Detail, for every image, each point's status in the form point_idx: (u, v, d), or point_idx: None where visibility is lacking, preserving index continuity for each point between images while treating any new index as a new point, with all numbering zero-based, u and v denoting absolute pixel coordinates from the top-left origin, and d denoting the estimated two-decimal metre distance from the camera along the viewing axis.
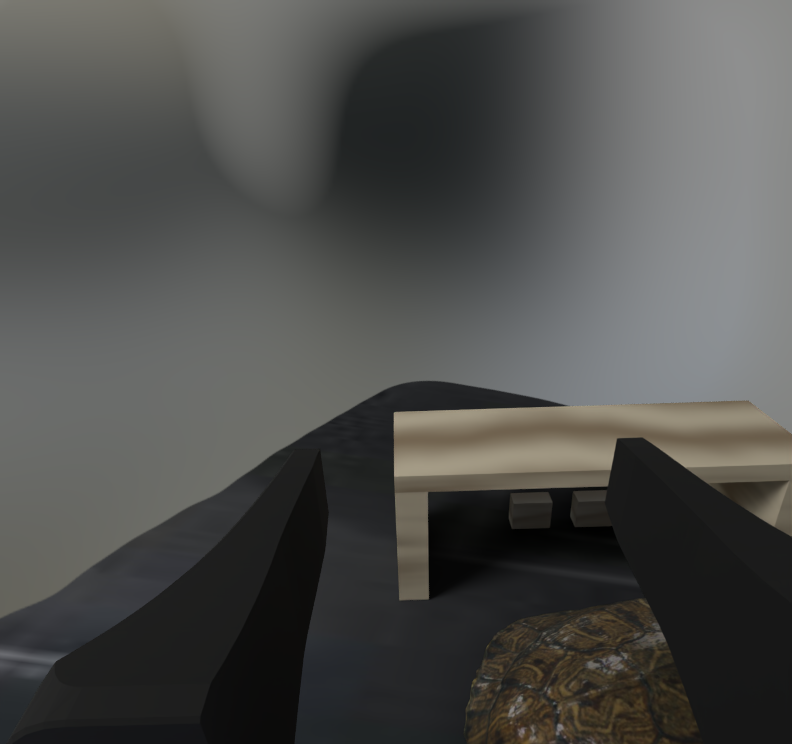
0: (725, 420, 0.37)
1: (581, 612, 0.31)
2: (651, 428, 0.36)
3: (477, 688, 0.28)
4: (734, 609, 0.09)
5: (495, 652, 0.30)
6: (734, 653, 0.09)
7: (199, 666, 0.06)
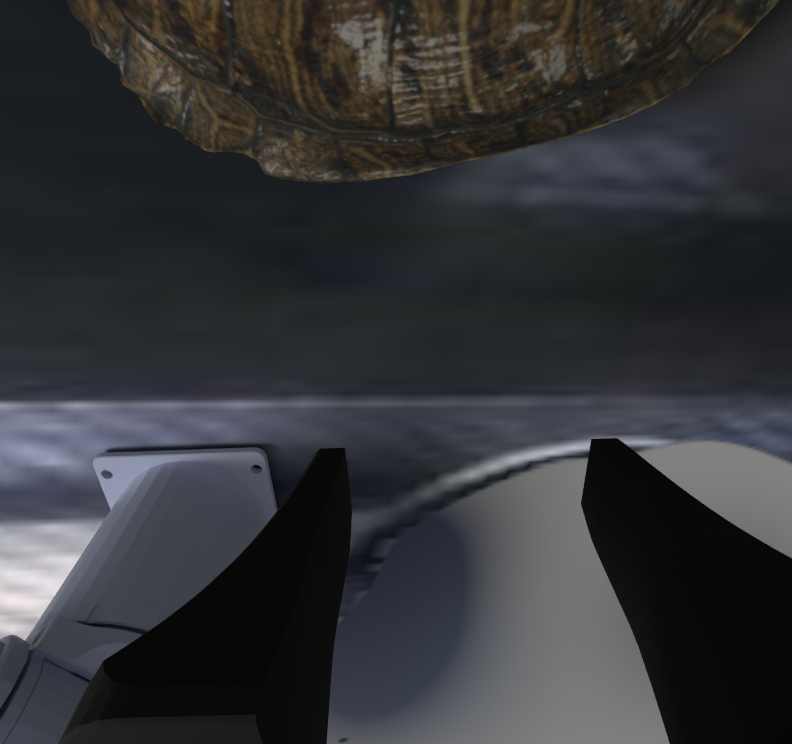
0: None
1: None
2: None
3: None
4: (696, 610, 0.09)
5: None
6: (696, 654, 0.09)
7: (249, 665, 0.06)
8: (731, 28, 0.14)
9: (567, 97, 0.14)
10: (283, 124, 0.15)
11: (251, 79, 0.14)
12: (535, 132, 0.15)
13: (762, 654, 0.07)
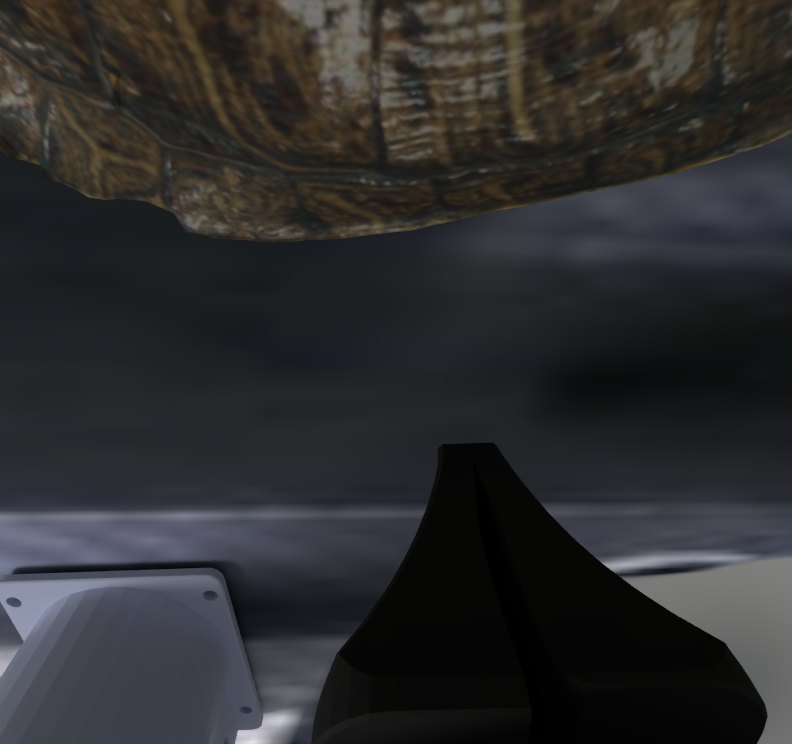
0: None
1: None
2: None
3: None
4: (513, 615, 0.09)
5: None
6: None
7: (494, 658, 0.06)
8: None
9: (681, 114, 0.08)
10: (205, 158, 0.09)
11: (138, 85, 0.08)
12: (613, 169, 0.10)
13: (537, 660, 0.07)
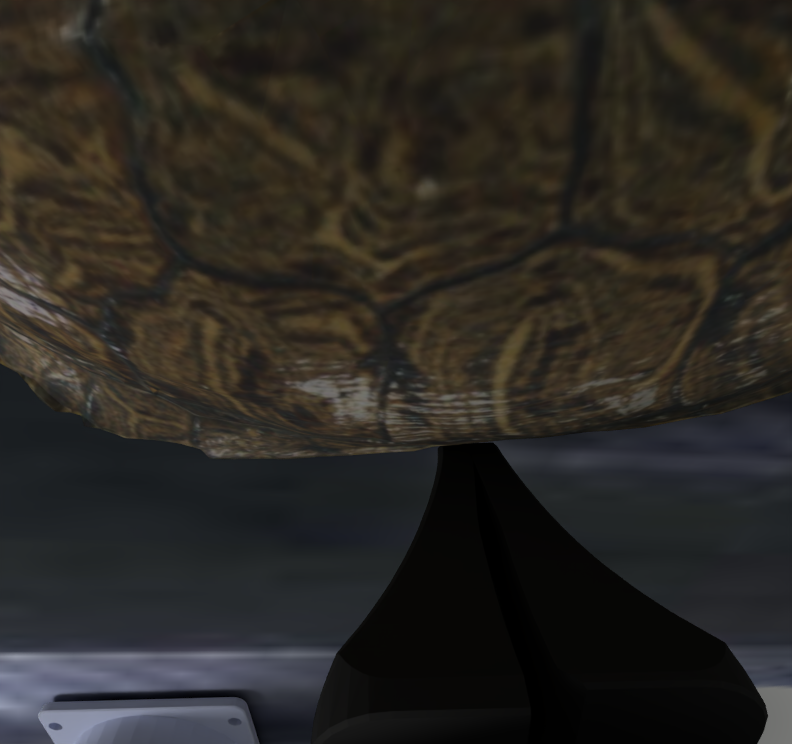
0: None
1: None
2: None
3: None
4: (514, 615, 0.09)
5: None
6: None
7: (494, 658, 0.06)
8: None
9: (648, 415, 0.10)
10: (230, 424, 0.11)
11: (174, 394, 0.09)
12: (592, 431, 0.11)
13: (538, 660, 0.07)
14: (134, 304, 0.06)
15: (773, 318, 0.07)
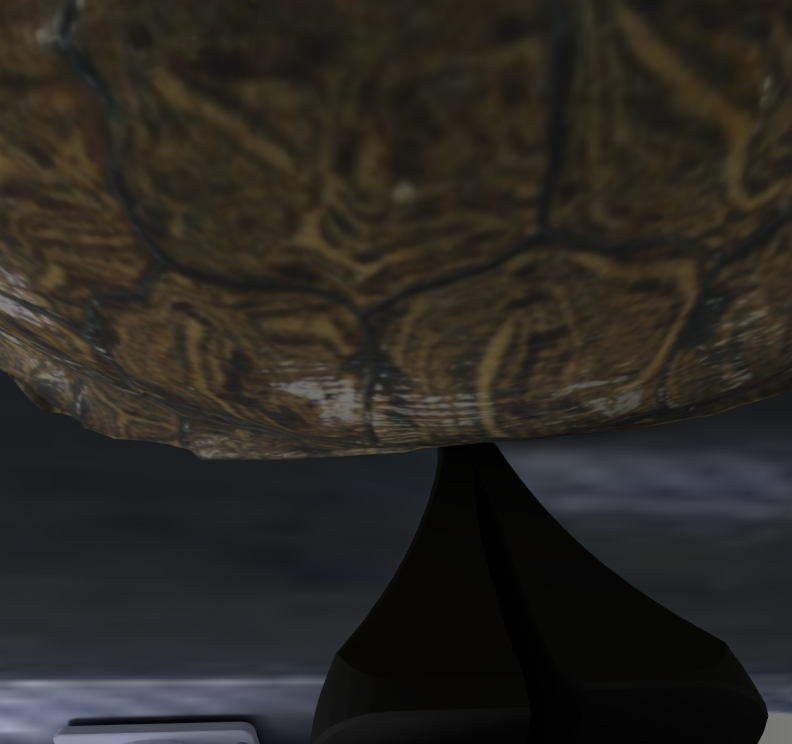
0: None
1: None
2: None
3: None
4: (514, 615, 0.09)
5: None
6: None
7: (493, 658, 0.06)
8: None
9: (635, 418, 0.10)
10: (219, 424, 0.11)
11: (162, 395, 0.09)
12: (580, 432, 0.11)
13: (538, 660, 0.07)
14: (116, 305, 0.07)
15: (755, 322, 0.07)
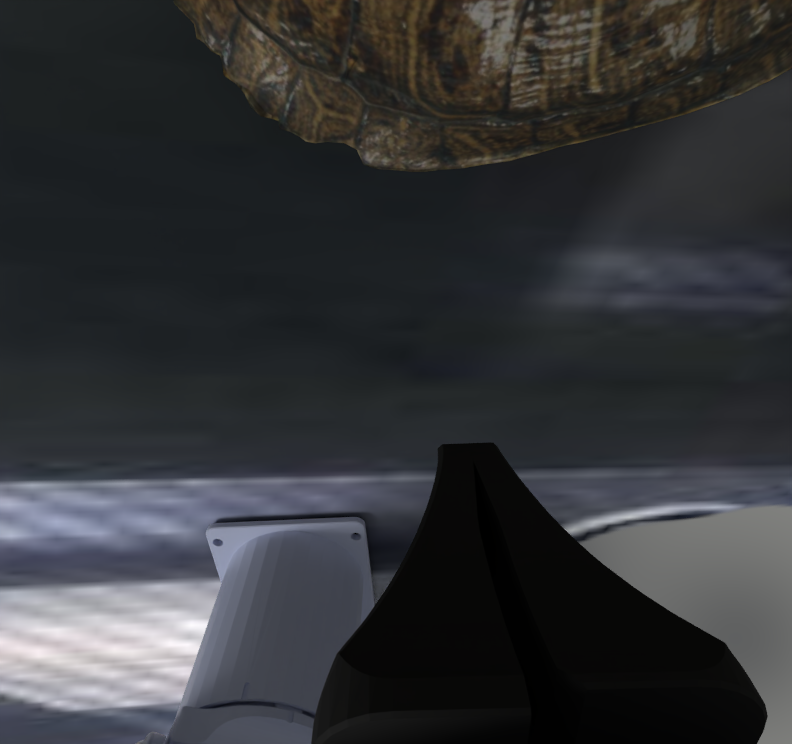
0: None
1: None
2: None
3: None
4: (513, 615, 0.09)
5: None
6: None
7: (494, 658, 0.06)
8: None
9: (689, 73, 0.14)
10: (390, 111, 0.15)
11: (365, 65, 0.14)
12: (646, 112, 0.15)
13: (537, 660, 0.07)
14: None
15: None
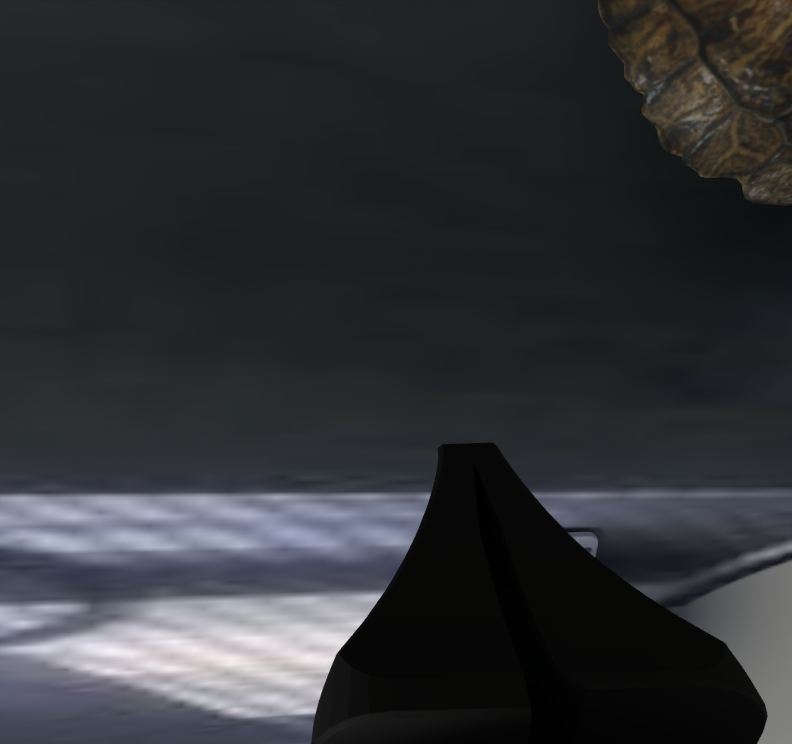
0: None
1: None
2: None
3: None
4: (513, 615, 0.09)
5: None
6: None
7: (495, 658, 0.06)
8: None
9: None
10: None
11: None
12: None
13: (537, 660, 0.07)
14: None
15: None
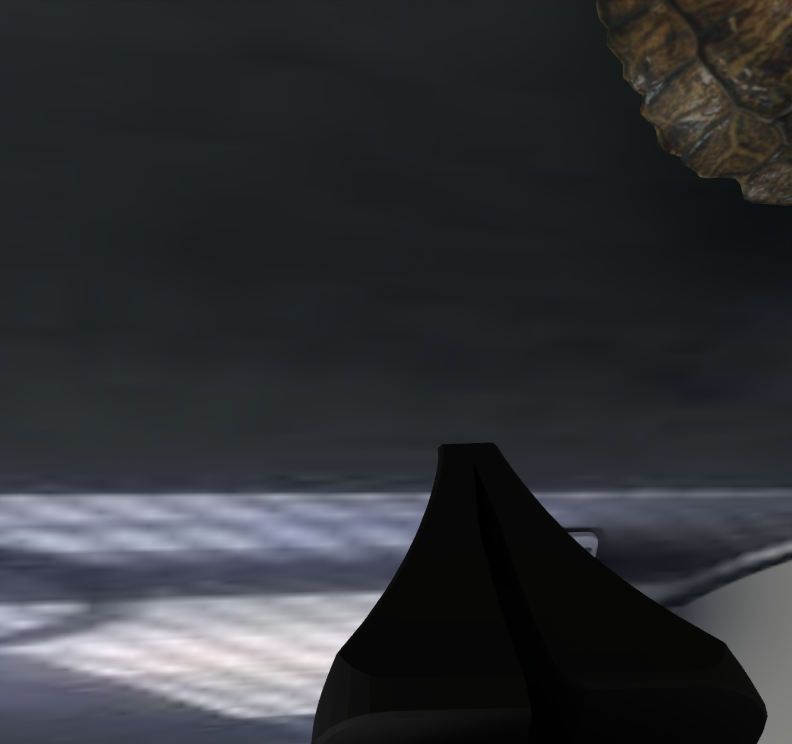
0: None
1: None
2: None
3: None
4: (513, 615, 0.09)
5: None
6: None
7: (495, 658, 0.06)
8: None
9: None
10: None
11: None
12: None
13: (537, 660, 0.07)
14: None
15: None
